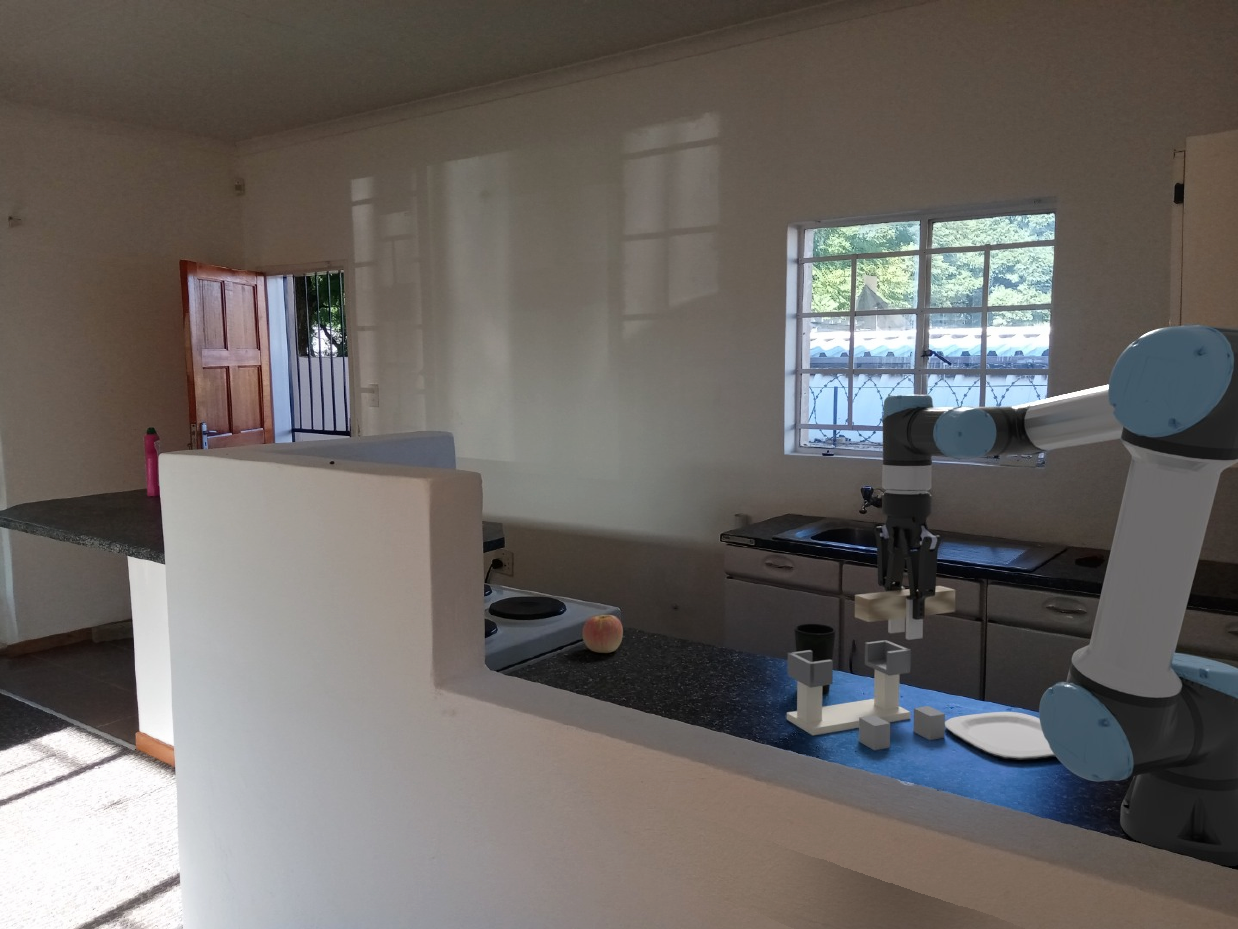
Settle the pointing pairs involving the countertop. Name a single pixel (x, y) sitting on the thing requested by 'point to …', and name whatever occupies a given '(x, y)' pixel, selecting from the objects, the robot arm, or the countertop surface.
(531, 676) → the countertop surface
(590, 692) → the countertop surface
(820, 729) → the bracket stand
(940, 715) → the rests
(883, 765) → the countertop surface
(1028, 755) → the plate
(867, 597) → the rail
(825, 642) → the cup
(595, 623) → the apple
